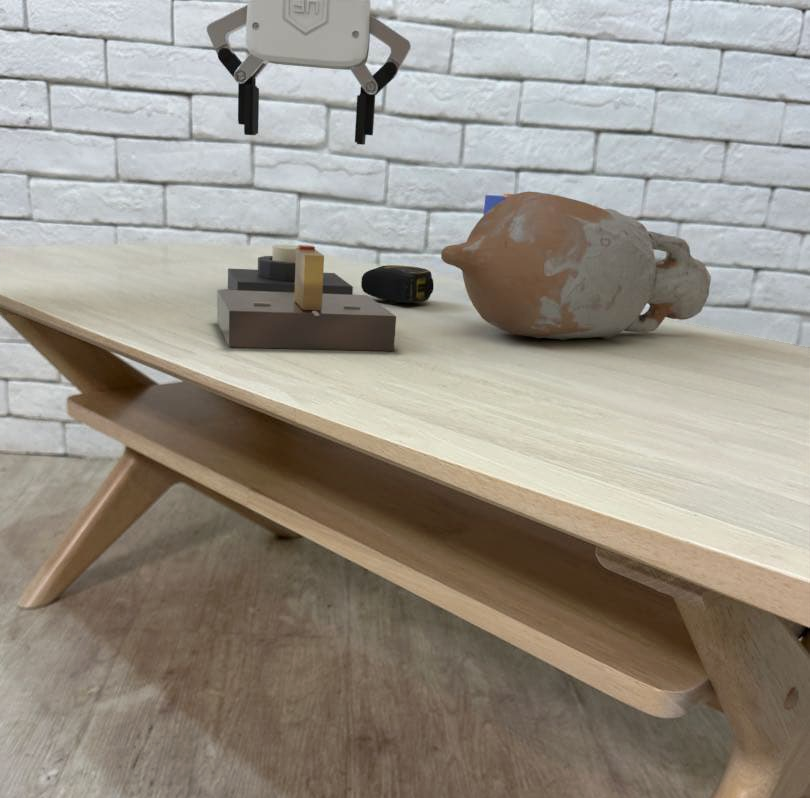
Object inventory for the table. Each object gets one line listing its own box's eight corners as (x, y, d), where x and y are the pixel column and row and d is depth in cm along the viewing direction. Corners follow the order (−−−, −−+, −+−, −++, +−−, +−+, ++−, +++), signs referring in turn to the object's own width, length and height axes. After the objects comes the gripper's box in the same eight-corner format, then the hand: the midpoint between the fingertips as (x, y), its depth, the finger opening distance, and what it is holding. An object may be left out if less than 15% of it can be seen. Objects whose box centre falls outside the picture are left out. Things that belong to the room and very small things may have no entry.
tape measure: (357, 300, 110) (358, 265, 108) (397, 296, 115) (399, 263, 113) (404, 310, 106) (406, 274, 105) (443, 305, 111) (446, 271, 110)
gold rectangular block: (321, 311, 83) (324, 252, 82) (302, 310, 83) (305, 251, 81) (312, 301, 88) (314, 245, 86) (294, 300, 87) (295, 244, 86)
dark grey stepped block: (237, 303, 102) (237, 263, 100) (227, 288, 111) (228, 251, 109) (351, 307, 105) (354, 268, 104) (333, 292, 114) (335, 256, 112)
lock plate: (230, 350, 81) (230, 311, 79) (217, 322, 91) (217, 287, 90) (397, 354, 84) (399, 316, 83) (365, 327, 95) (367, 293, 94)
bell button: (274, 265, 104) (275, 247, 104) (270, 260, 108) (270, 244, 107) (308, 266, 105) (309, 249, 105) (303, 262, 109) (303, 245, 108)
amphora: (405, 188, 91) (668, 146, 101) (407, 350, 100) (647, 295, 111) (481, 235, 81) (764, 182, 91) (475, 409, 90) (732, 343, 101)
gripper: (198, -106, 78) (198, 131, 84) (418, -87, 78) (401, 148, 84) (217, -85, 85) (216, 131, 91) (420, -68, 85) (404, 147, 91)
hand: (305, 139), depth 88 cm, fingers open, 9 cm apart
